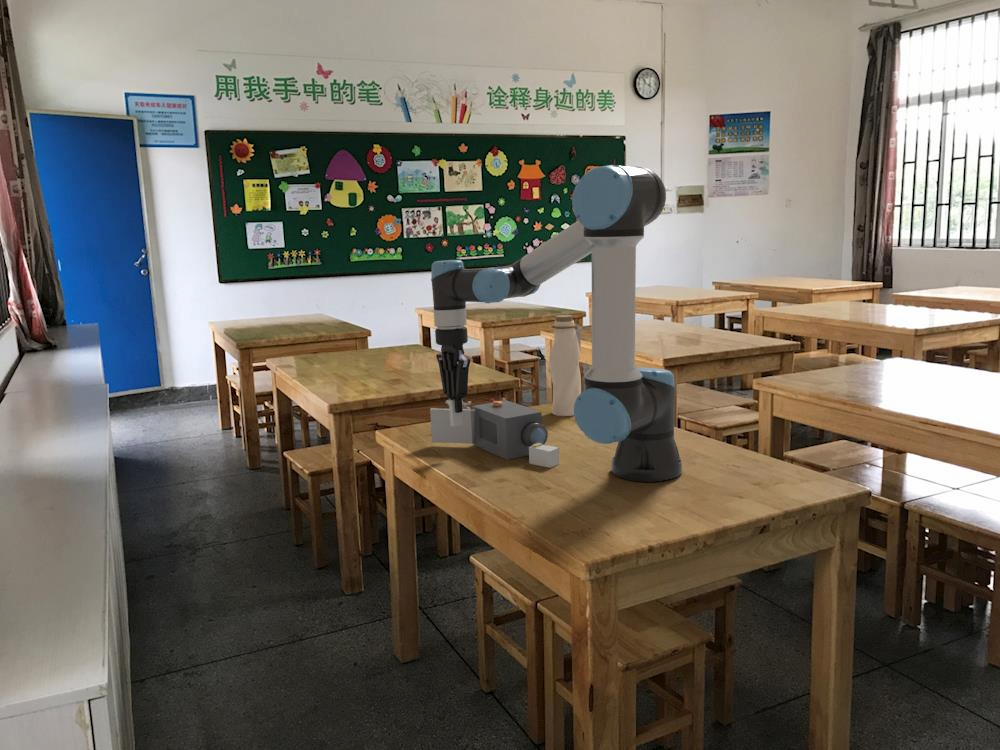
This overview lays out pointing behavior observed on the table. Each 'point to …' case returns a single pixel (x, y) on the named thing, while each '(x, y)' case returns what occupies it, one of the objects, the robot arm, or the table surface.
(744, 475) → the table surface
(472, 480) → the table surface
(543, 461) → the block
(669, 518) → the table surface
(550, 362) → the water bottle
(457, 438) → the side door
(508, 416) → the grey box
